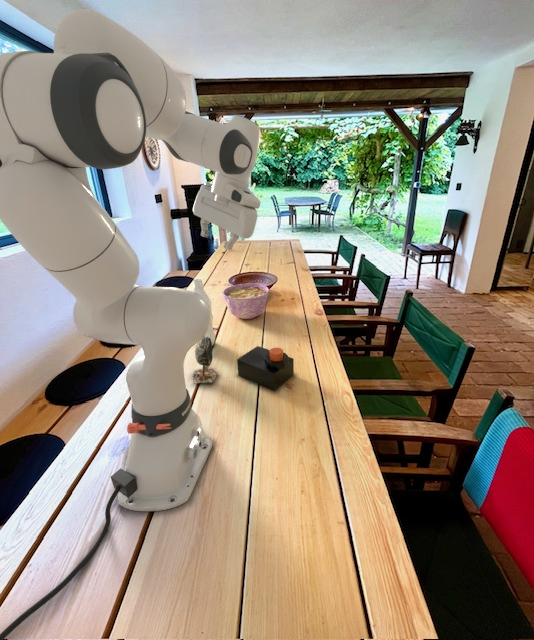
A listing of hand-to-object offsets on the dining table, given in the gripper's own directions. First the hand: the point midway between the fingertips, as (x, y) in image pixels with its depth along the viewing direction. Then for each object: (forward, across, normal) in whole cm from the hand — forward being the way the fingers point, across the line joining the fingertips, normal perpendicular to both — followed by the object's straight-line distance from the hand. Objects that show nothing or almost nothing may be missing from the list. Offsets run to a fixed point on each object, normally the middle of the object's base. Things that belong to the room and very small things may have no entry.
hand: (215, 242), depth 87 cm
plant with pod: (+40, +8, +3) cm, 41 cm away
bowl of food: (+35, -14, +45) cm, 59 cm away
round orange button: (+25, +24, +11) cm, 37 cm away
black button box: (+34, +22, +13) cm, 42 cm away
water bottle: (+41, -8, +16) cm, 45 cm away
